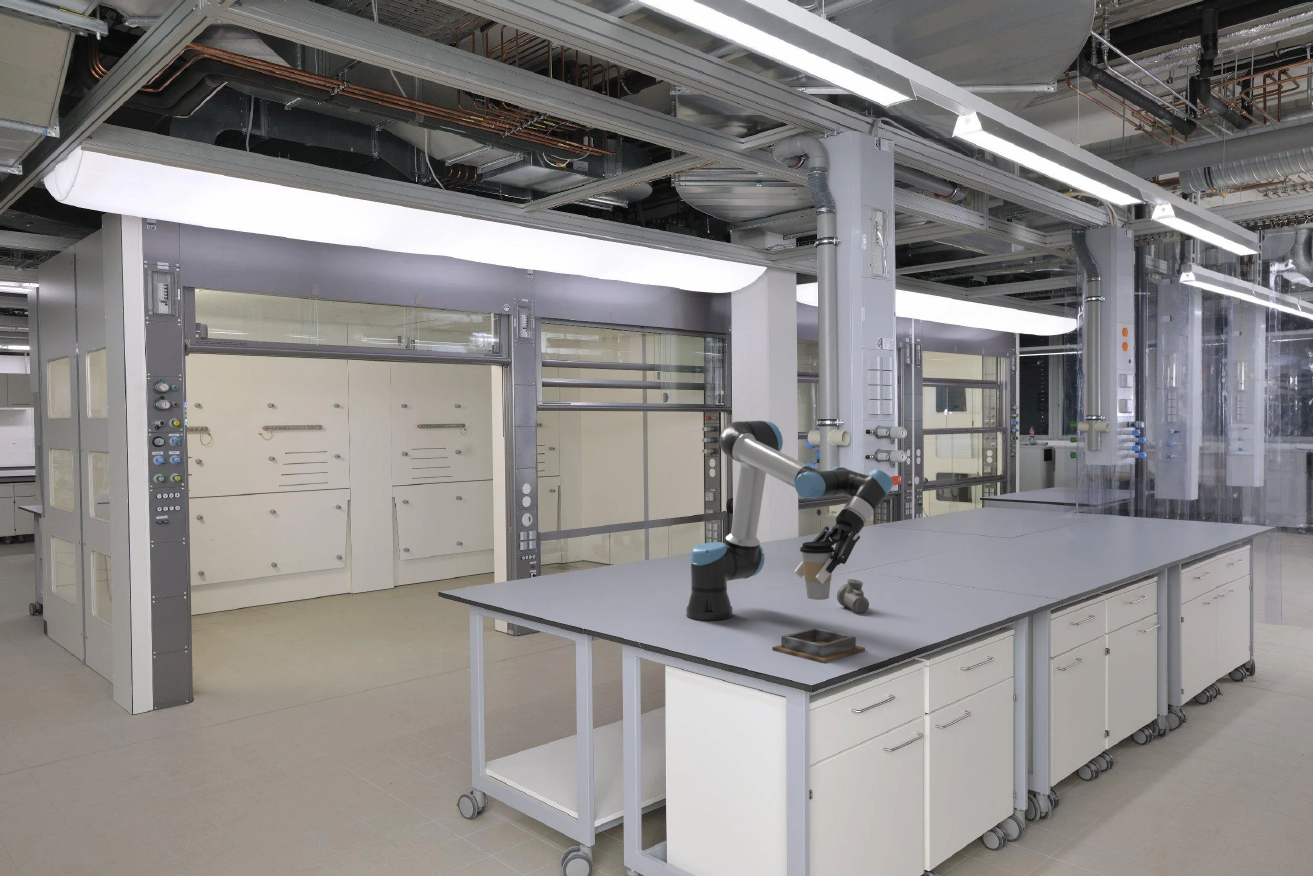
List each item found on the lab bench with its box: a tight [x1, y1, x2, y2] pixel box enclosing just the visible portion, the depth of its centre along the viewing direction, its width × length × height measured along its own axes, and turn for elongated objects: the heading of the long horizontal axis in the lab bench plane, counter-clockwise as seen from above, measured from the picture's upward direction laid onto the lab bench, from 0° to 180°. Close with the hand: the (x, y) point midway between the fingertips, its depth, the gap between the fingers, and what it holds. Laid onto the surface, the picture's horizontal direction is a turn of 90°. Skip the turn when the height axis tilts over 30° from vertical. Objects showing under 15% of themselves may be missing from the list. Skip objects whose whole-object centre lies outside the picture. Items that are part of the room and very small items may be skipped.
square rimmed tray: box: [771, 627, 866, 664], centre depth 244 cm, size 18×18×4 cm
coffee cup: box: [799, 541, 835, 601], centre depth 243 cm, size 9×9×15 cm
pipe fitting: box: [836, 578, 870, 615], centre depth 293 cm, size 12×8×10 cm
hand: (808, 577), depth 242 cm, fingers closed on coffee cup, 9 cm apart
